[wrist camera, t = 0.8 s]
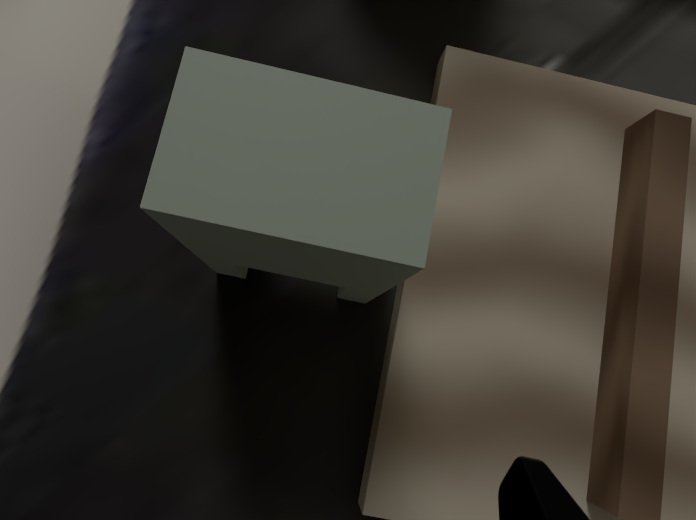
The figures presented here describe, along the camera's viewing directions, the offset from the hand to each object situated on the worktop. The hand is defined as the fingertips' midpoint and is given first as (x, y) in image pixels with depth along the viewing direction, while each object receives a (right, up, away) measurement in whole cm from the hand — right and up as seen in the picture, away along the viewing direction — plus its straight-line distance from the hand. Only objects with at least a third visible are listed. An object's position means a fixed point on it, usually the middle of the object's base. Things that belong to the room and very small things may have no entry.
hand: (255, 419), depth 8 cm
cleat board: (+13, 0, +14) cm, 20 cm away
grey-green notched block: (0, +3, +13) cm, 14 cm away
